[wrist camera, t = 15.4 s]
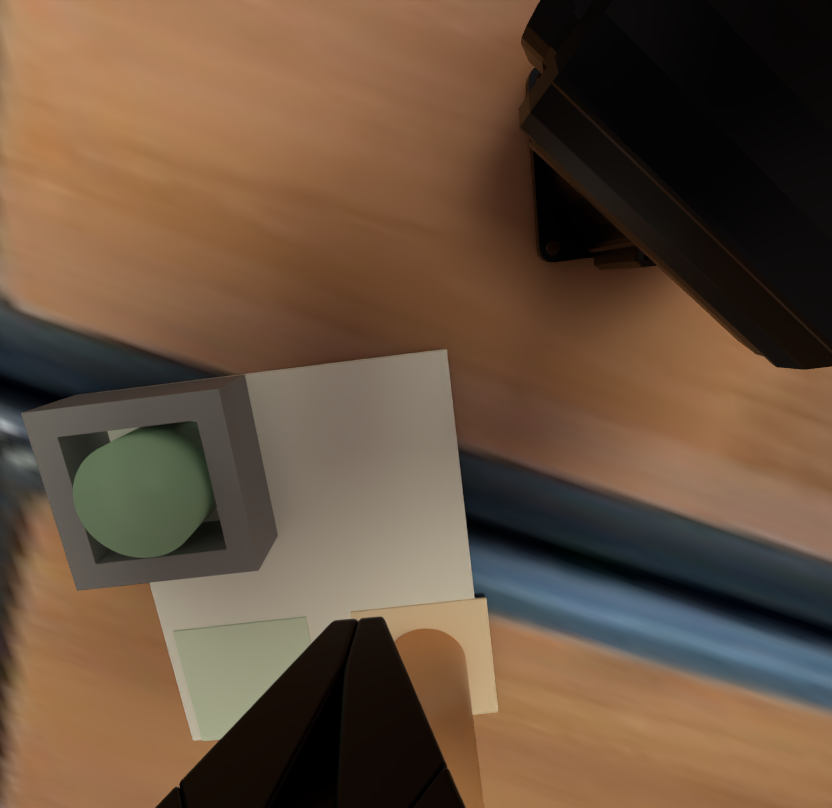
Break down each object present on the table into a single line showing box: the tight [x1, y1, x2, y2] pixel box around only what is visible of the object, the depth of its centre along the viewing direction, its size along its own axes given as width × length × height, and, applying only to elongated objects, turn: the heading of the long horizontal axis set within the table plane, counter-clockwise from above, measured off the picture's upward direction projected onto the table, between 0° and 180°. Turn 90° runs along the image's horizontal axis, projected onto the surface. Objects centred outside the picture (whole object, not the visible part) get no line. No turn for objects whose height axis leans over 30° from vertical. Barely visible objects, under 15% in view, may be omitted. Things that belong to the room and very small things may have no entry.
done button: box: [73, 421, 217, 558], centre depth 19 cm, size 4×4×3 cm
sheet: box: [21, 349, 498, 741], centre depth 21 cm, size 17×16×3 cm
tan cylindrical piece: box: [395, 629, 484, 808], centre depth 18 cm, size 4×4×12 cm
